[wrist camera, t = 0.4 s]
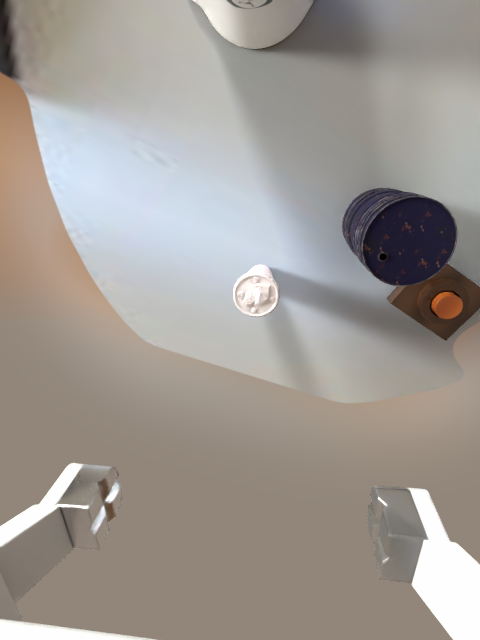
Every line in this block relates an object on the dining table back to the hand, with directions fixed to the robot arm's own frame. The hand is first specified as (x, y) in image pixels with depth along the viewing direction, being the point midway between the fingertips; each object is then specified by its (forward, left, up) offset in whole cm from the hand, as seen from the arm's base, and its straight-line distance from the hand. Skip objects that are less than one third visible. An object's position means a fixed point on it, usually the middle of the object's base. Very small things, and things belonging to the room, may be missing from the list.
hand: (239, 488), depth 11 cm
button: (+10, +25, -43) cm, 51 cm away
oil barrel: (-1, +15, -47) cm, 49 cm away
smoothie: (+7, -2, -47) cm, 47 cm away
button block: (+10, +25, -47) cm, 54 cm away
